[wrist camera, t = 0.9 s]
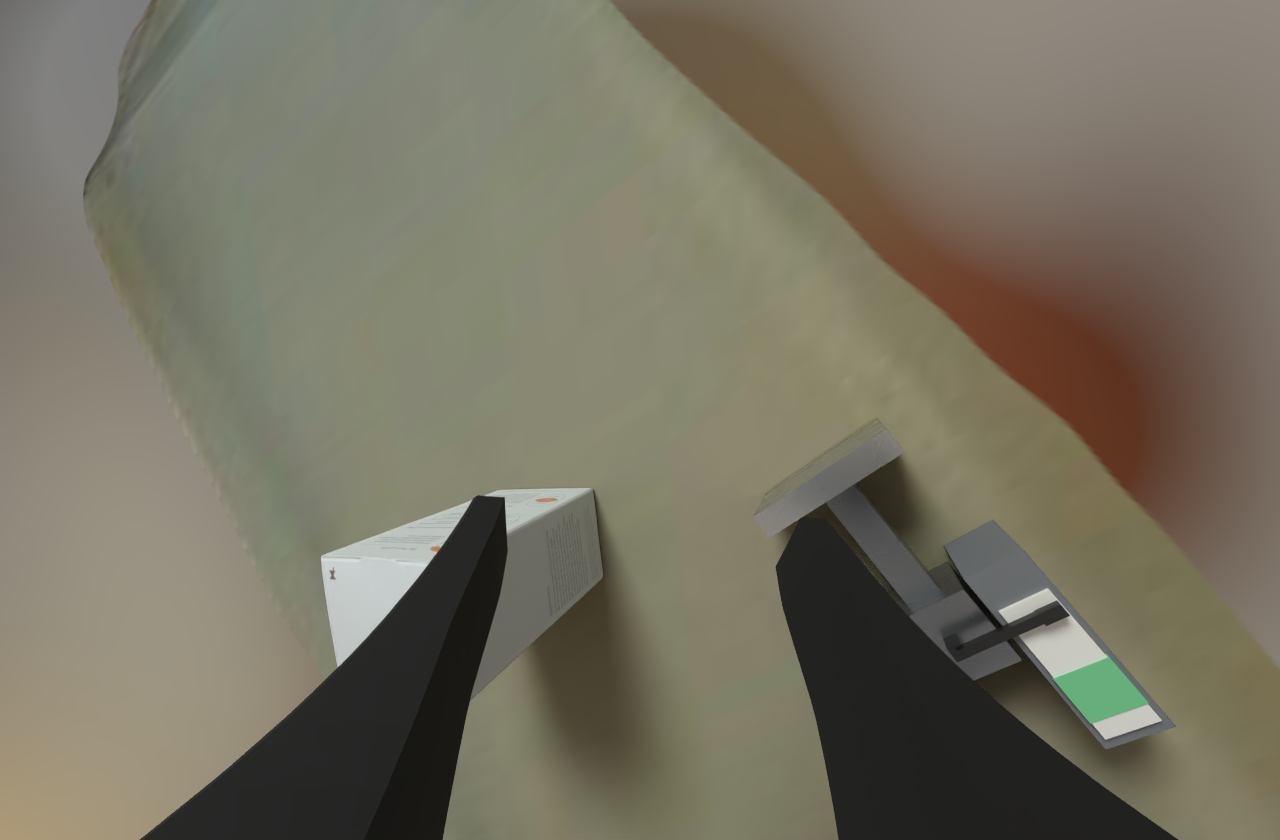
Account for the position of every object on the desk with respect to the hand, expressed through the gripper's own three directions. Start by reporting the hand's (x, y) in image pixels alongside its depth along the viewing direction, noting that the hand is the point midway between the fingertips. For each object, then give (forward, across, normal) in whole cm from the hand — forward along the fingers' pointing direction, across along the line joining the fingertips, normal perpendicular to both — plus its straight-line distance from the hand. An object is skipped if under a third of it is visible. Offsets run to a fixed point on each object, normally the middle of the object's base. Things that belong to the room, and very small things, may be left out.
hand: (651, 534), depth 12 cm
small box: (+14, +4, +18) cm, 23 cm away
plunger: (+7, -14, +9) cm, 18 cm away
